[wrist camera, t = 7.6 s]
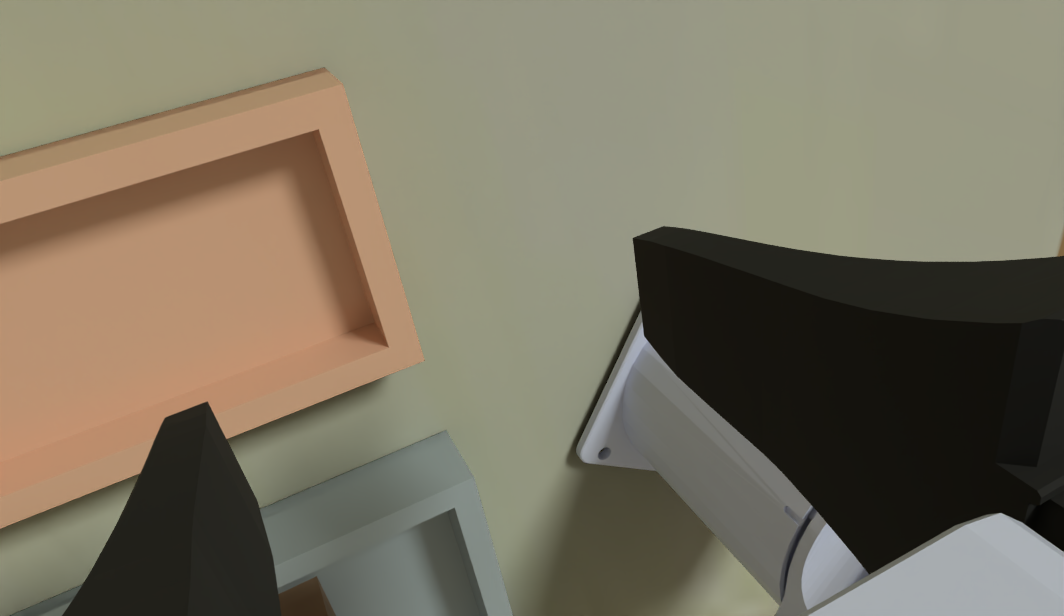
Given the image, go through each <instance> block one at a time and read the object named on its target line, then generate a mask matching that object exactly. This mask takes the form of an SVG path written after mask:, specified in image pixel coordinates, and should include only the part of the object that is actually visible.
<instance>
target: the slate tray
mask: <svg viewBox="0 0 1064 616" xmlns="http://www.w3.org/2000/svg"><path fill="white" fill-rule="evenodd" d="M260 512H261V516H262V519H263V523H264V526H265V530H266V533H267V537H268V540H269V544H270V548H271V551H272V555H273V560H274V567H275V573H276V580H277V587H278V594H280V593H282V592H284V591H286V590H288V589H290V588H293V587H295V586H297V585H299V584H301V583H303V582H305V581H308V580H310V579H312V578H314V577H316V576H317V578H318V580H319V582H320V584H321V586H322V588H323V590H324V592H325V594H326V596H327V598H328V600H329V602H330V604H331V606H332V608H333V610H334V613H335V615H336V616H513V614H512V610H511V607H510V603H509V600H508V596H507V592H506V589H505V585H504V582H503V578H502V575H501V571H500V568H499V564H498V561H497V557H496V554H495V550H494V546H493V543H492V539H491V536H490V532H489V529H488V525H487V522H486V518H485V515H484V511H483V507H482V504H481V500H480V497H479V493H478V490H477V486H476V483H475V479H474V476H473V475H472V473H471V471H470V470H469V468H468V466H467V465H466V463H465V461H464V459H463V458H462V456H461V454H460V453H459V451H458V449H457V448H456V446H455V444H454V443H453V441H452V439H451V438H450V436H449V434H448V433H447V431H446V430H445V431H443V432H441V433H438V434H436V435H434V436H431V437H429V438H427V439H424V440H422V441H420V442H417V443H415V444H412V445H410V446H408V447H405V448H403V449H401V450H398V451H396V452H394V453H391V454H389V455H387V456H384V457H382V458H380V459H377V460H375V461H373V462H370V463H368V464H365V465H363V466H361V467H358V468H356V469H354V470H351V471H349V472H347V473H344V474H342V475H340V476H337V477H335V478H333V479H330V480H328V481H325V482H323V483H321V484H318V485H316V486H314V487H311V488H309V489H307V490H304V491H302V492H300V493H297V494H295V495H293V496H290V497H288V498H285V499H283V500H281V501H278V502H276V503H274V504H271V505H269V506H267V507H264V508H262V509H260ZM81 586H82V585H81ZM81 586H78V587H76V588H74V589H71V590H69V591H67V592H64V593H62V594H60V595H57V596H55V597H53V598H50V599H48V600H46V601H43V602H41V603H39V604H36V605H34V606H31V607H29V608H27V609H24V610H22V611H20V612H17V613H15V614H13V615H10V616H62V615H63V613H64V612H65V610H66V609H67V608H68V606H69V605H70V603H71V602H72V600H73V599H74V597H75V596H76V594H77V593H78V591H79V590H80V588H81Z"/></svg>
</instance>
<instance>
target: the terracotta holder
mask: <svg viewBox="0 0 1064 616" xmlns="http://www.w3.org/2000/svg"><path fill="white" fill-rule="evenodd" d="M423 361H425V360H424V356H423V353H422V350H421V346H420V343H419V340H418V336H417V333H416V329H415V326H414V323H413V319H412V316H411V313H410V309H409V306H408V302H407V299H406V296H405V292H404V289H403V286H402V282H401V279H400V275H399V272H398V269H397V265H396V262H395V258H394V255H393V252H392V248H391V245H390V242H389V238H388V235H387V231H386V228H385V225H384V221H383V218H382V215H381V211H380V208H379V204H378V201H377V198H376V194H375V191H374V187H373V184H372V181H371V177H370V174H369V171H368V167H367V164H366V160H365V157H364V154H363V150H362V147H361V144H360V140H359V137H358V133H357V130H356V127H355V123H354V120H353V116H352V113H351V110H350V106H349V103H348V100H347V96H346V93H345V89H344V86H343V84H342V83H341V82H340V81H339V80H338V79H337V78H336V77H335V76H333V75H332V74H331V73H330V72H329V71H328V70H327V69H326V68H320V69H317V70H313V71H309V72H306V73H302V74H299V75H295V76H291V77H288V78H284V79H280V80H277V81H273V82H270V83H266V84H262V85H259V86H255V87H252V88H248V89H244V90H241V91H237V92H233V93H230V94H226V95H223V96H219V97H215V98H212V99H208V100H204V101H201V102H197V103H194V104H190V105H186V106H183V107H179V108H175V109H172V110H168V111H165V112H161V113H157V114H154V115H150V116H146V117H143V118H139V119H136V120H132V121H128V122H125V123H121V124H117V125H114V126H110V127H107V128H103V129H99V130H96V131H92V132H88V133H85V134H81V135H78V136H74V137H70V138H67V139H63V140H59V141H56V142H52V143H49V144H45V145H41V146H38V147H34V148H30V149H27V150H23V151H20V152H16V153H12V154H9V155H5V156H1V157H0V529H1V528H3V527H6V526H8V525H11V524H13V523H16V522H18V521H21V520H23V519H26V518H28V517H31V516H33V515H36V514H38V513H41V512H44V511H46V510H49V509H51V508H54V507H56V506H59V505H61V504H64V503H66V502H69V501H71V500H74V499H76V498H79V497H81V496H84V495H86V494H89V493H92V492H94V491H97V490H99V489H102V488H104V487H107V486H109V485H112V484H114V483H117V482H119V481H122V480H124V479H127V478H129V477H132V476H134V475H137V474H140V473H141V471H142V468H143V466H144V464H145V461H146V459H147V457H148V454H149V452H150V450H151V447H152V445H153V442H154V440H155V438H156V435H157V433H158V431H159V428H160V426H161V424H162V422H163V420H164V418H165V417H168V416H170V415H173V414H175V413H178V412H181V411H183V410H186V409H188V408H191V407H194V406H196V405H199V404H201V403H204V402H207V401H208V403H209V405H210V407H211V409H212V411H213V413H214V415H215V417H216V419H217V421H218V423H219V425H220V427H221V429H222V431H223V433H224V435H225V437H226V439H228V438H230V437H233V436H236V435H238V434H241V433H243V432H246V431H248V430H251V429H253V428H256V427H258V426H261V425H263V424H266V423H268V422H271V421H273V420H276V419H279V418H281V417H284V416H286V415H289V414H291V413H294V412H296V411H299V410H301V409H304V408H306V407H309V406H311V405H314V404H316V403H319V402H321V401H324V400H327V399H329V398H332V397H334V396H337V395H339V394H342V393H344V392H347V391H349V390H352V389H354V388H357V387H359V386H362V385H364V384H367V383H369V382H372V381H375V380H377V379H380V378H382V377H385V376H387V375H390V374H392V373H395V372H397V371H400V370H402V369H405V368H407V367H410V366H412V365H415V364H417V363H420V362H423Z"/></svg>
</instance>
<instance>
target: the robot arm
mask: <svg viewBox="0 0 1064 616" xmlns="http://www.w3.org/2000/svg"><path fill="white" fill-rule="evenodd" d="M633 244H634V253H635V262H636V270H637V279H638V288H639V297H640V305H641V311H640V313H639V315H638V317H637V320H636V322H635V324H634V326H633V328H632V330H631V332H630V334H629V337H628V339H627V341H626V343H625V345H624V347H623V349H622V351H621V354H620V356H619V358H618V360H617V362H616V364H615V366H614V368H613V371H612V373H611V375H610V377H609V379H608V381H607V383H606V385H605V388H604V390H603V392H602V394H601V396H600V398H599V400H598V402H597V405H596V407H595V409H594V411H593V413H592V415H591V417H590V419H589V421H588V424H587V426H586V428H585V430H584V432H583V434H582V436H581V438H580V441H579V443H578V445H577V448H576V453H577V455H578V456H579V458H580V459H581V460H582V461H583V462H585V463H588V464H597V465H606V466H615V467H624V468H633V469H643V470H652V471H657V472H658V473H659V474H660V475H661V476H662V478H663V479H664V480H665V481H666V482H667V483H668V484H669V485H670V486H671V487H672V489H673V490H674V491H675V492H676V493H677V494H678V495H679V496H680V497H681V498H682V499H683V501H684V502H685V503H686V504H687V505H688V506H689V507H690V508H691V509H692V510H693V511H694V513H695V514H696V515H697V516H698V517H699V518H700V519H701V520H702V521H703V522H704V524H705V525H706V526H707V527H708V528H709V529H710V530H711V531H712V532H713V533H714V534H715V536H716V537H717V538H718V539H719V540H720V541H721V542H722V543H723V544H724V545H725V546H726V548H727V549H728V550H729V551H730V552H731V553H732V554H733V555H734V556H735V557H736V559H737V560H738V561H739V562H740V563H741V564H742V565H743V566H744V567H745V568H746V569H747V571H748V572H749V573H750V574H751V575H752V576H753V577H754V578H755V579H756V580H757V582H758V583H759V584H760V585H761V586H762V587H763V588H764V589H765V590H766V591H767V592H768V594H769V595H770V596H771V597H772V598H773V599H774V600H775V601H776V602H777V603H778V604H779V606H780V607H779V609H778V611H777V612H776V614H775V615H774V616H1064V256H1060V257H1049V258H1035V259H1020V260H1006V261H981V262H917V261H895V260H882V259H868V258H856V257H847V256H838V255H831V254H824V253H817V252H810V251H803V250H797V249H791V248H785V247H779V246H774V245H768V244H763V243H758V242H752V241H747V240H742V239H737V238H732V237H727V236H722V235H717V234H712V233H707V232H701V231H696V230H690V229H684V228H676V227H665V226H663V227H660V228H658V229H655V230H653V231H650V232H647V233H645V234H642V235H640V236H637V237H634V238H633ZM603 448H605V449H604V450H603V451H602V452H600V450H601V449H603ZM599 452H600V453H599ZM62 616H281V608H280V601H279V594H278V587H277V580H276V573H275V567H274V560H273V555H272V551H271V548H270V544H269V540H268V537H267V533H266V530H265V526H264V523H263V519H262V516H261V512H260V509H259V505H258V502H257V499H256V497H255V495H254V493H253V491H252V489H251V487H250V485H249V483H248V481H247V479H246V477H245V475H244V473H243V471H242V469H241V467H240V465H239V463H238V461H237V459H236V457H235V455H234V453H233V451H232V449H231V447H230V445H229V443H228V441H227V439H226V437H225V435H224V433H223V431H222V429H221V427H220V425H219V423H218V421H217V419H216V417H215V415H214V413H213V411H212V409H211V407H210V405H209V403H208V401H207V402H204V403H201V404H199V405H196V406H194V407H191V408H188V409H186V410H183V411H181V412H178V413H175V414H173V415H170V416H168V417H165V418H164V420H163V422H162V424H161V426H160V428H159V431H158V433H157V435H156V438H155V440H154V442H153V445H152V447H151V450H150V452H149V454H148V457H147V459H146V461H145V464H144V466H143V468H142V471H141V473H140V475H139V478H138V480H137V482H136V484H135V486H134V489H133V491H132V493H131V495H130V497H129V499H128V501H127V503H126V506H125V508H124V510H123V512H122V514H121V516H120V518H119V520H118V522H117V524H116V526H115V528H114V530H113V532H112V534H111V536H110V537H109V539H108V541H107V543H106V545H105V546H104V548H103V550H102V552H101V554H100V556H99V557H98V559H97V561H96V563H95V565H94V567H93V568H92V570H91V572H90V574H89V575H88V577H87V579H86V580H85V582H84V583H83V585H82V586H81V588H80V590H79V591H78V593H77V594H76V596H75V597H74V599H73V600H72V602H71V603H70V605H69V606H68V608H67V609H66V610H65V612H64V613H63V615H62Z"/></svg>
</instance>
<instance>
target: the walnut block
mask: <svg viewBox="0 0 1064 616" xmlns="http://www.w3.org/2000/svg"><path fill="white" fill-rule="evenodd" d="M279 601H280V608H281V616H336V615H335V613H334V610H333V608H332V606H331V604H330V602H329V600H328V598H327V596H326V594H325V592H324V590H323V588H322V586H321V584H320V582H319V580H318V578H317V576H316V577H314V578H312V579H310V580H308V581H305V582H303V583H301V584H299V585H297V586H295V587H293V588H290V589H288V590H286V591H284V592H282V593H280V594H279Z"/></svg>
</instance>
